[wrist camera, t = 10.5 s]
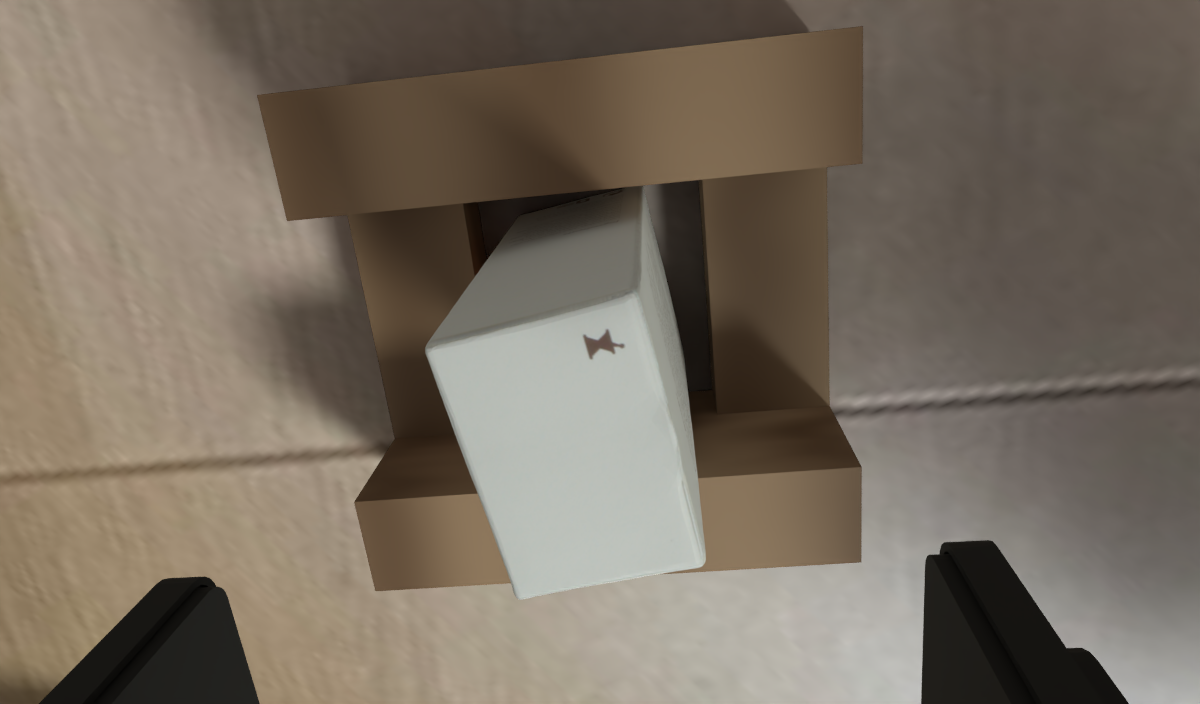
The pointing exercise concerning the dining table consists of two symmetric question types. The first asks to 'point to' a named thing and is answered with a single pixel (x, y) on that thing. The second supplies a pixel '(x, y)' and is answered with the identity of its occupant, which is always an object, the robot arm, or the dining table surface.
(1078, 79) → the dining table surface
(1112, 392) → the dining table surface
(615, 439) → the skincare box
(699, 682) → the dining table surface
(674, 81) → the socket
